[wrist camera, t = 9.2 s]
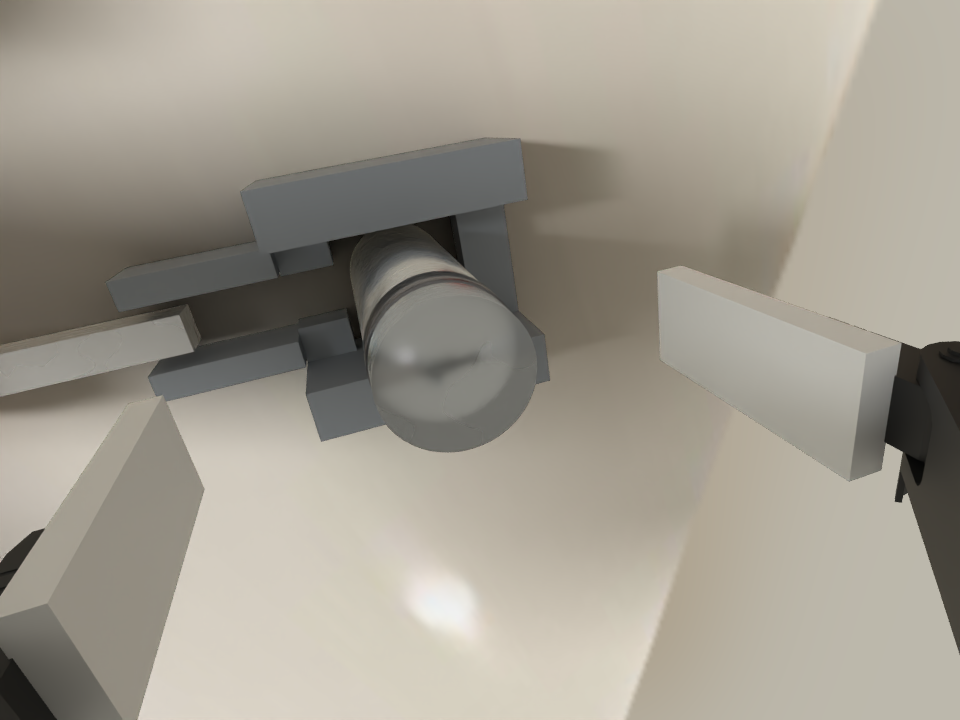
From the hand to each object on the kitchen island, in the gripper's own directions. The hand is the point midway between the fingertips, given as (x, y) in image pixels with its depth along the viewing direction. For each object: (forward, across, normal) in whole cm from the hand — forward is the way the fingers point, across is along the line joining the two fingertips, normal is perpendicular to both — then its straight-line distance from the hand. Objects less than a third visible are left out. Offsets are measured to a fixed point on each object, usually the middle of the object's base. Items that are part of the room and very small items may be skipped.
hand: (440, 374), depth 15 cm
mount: (+13, -2, 0) cm, 13 cm away
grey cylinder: (+13, +1, 0) cm, 13 cm away
